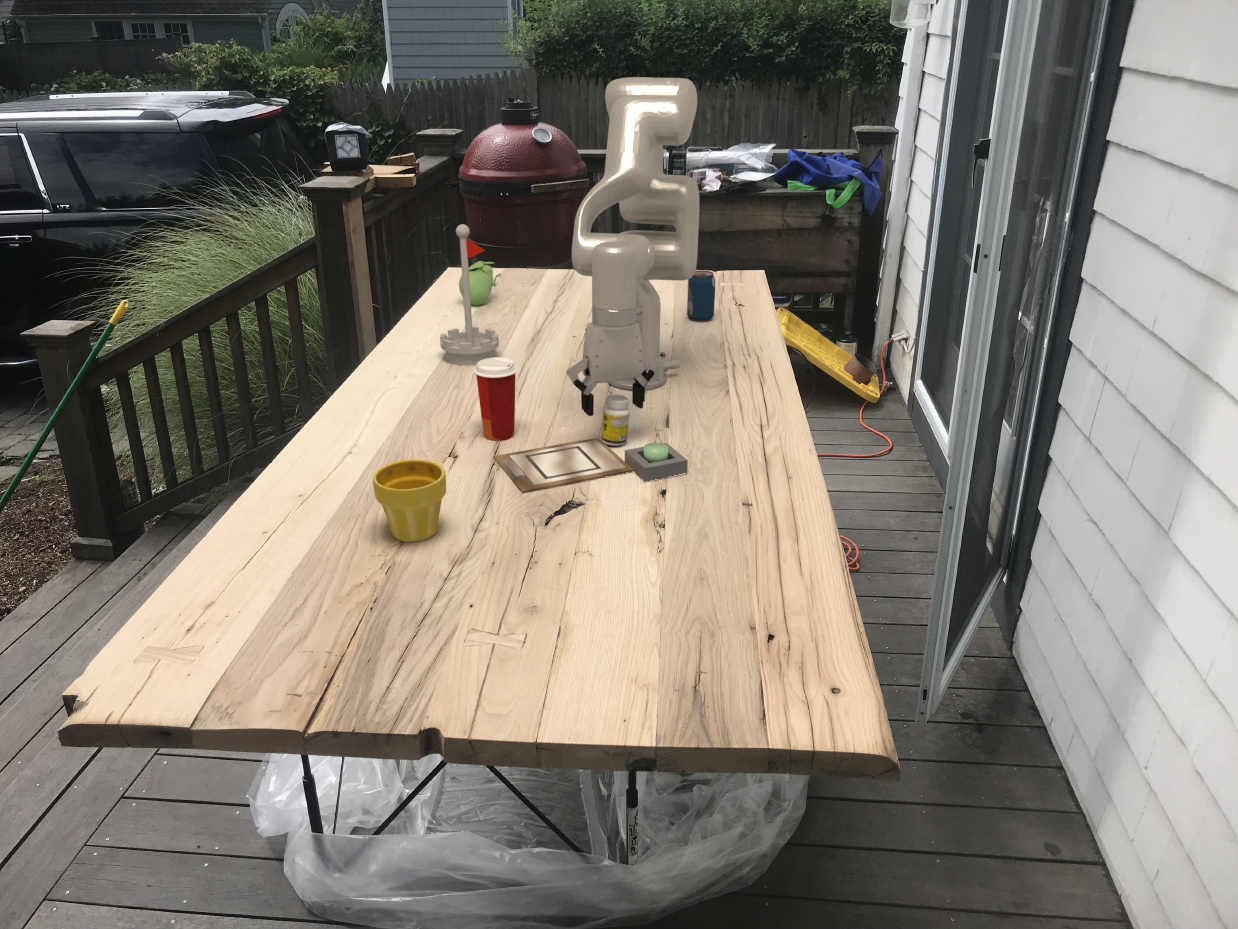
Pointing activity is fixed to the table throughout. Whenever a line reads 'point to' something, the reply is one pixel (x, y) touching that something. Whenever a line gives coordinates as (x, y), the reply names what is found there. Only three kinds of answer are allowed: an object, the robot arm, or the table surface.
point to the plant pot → (411, 497)
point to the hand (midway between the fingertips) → (613, 409)
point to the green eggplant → (480, 282)
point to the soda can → (701, 296)
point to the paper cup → (497, 397)
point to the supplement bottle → (615, 420)
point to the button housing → (656, 464)
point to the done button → (655, 452)
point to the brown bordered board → (561, 464)
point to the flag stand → (468, 318)
